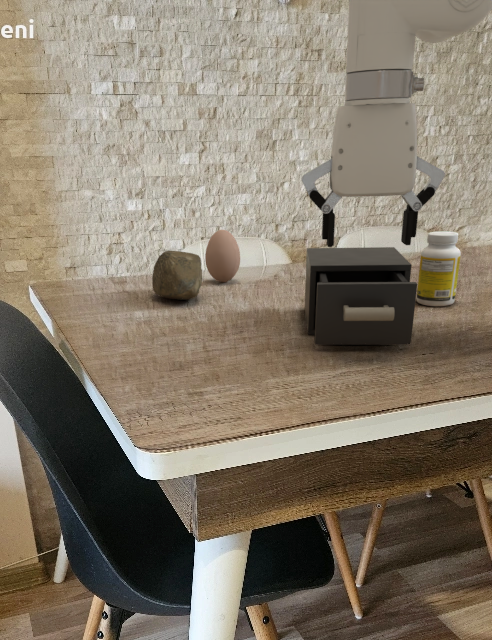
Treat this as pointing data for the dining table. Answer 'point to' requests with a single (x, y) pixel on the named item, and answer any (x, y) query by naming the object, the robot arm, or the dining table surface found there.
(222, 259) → the egg
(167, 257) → the stone
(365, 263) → the dark grey drawer unit
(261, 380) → the dining table surface
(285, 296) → the dining table surface
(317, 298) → the pull-out drawer
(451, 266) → the pill bottle
